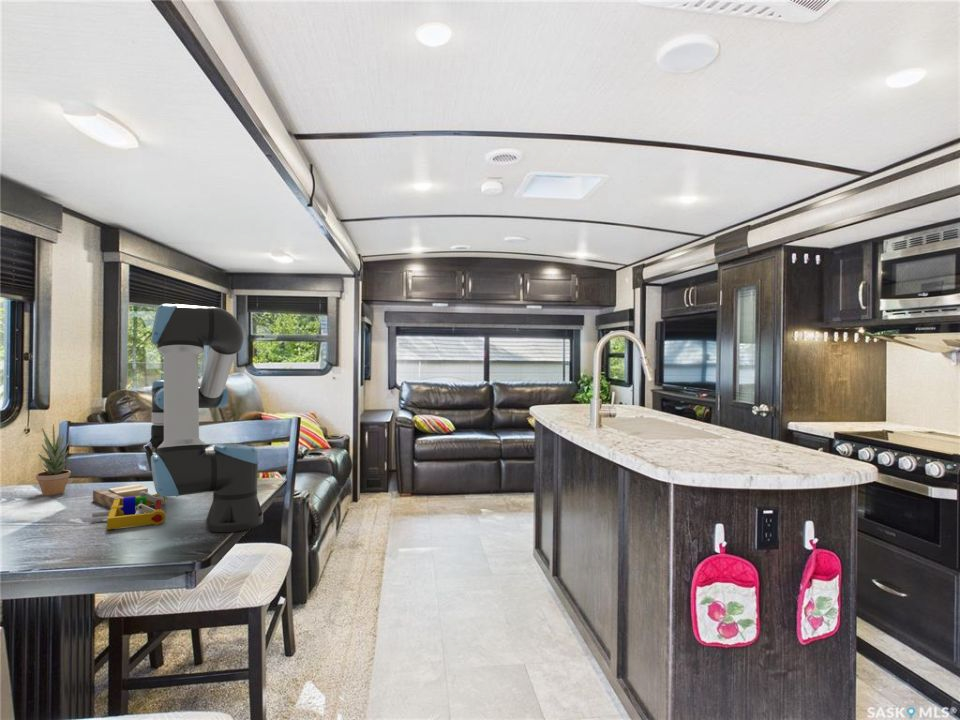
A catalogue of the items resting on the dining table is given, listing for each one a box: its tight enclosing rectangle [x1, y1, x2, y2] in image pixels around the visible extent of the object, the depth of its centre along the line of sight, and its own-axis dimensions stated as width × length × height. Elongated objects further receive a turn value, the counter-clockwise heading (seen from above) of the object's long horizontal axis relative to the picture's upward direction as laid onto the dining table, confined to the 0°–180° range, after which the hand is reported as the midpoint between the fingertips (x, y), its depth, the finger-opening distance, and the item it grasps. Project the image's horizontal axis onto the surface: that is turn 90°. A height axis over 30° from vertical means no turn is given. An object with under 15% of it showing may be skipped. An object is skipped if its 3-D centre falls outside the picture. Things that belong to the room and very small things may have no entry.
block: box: [108, 483, 149, 497], centre depth 177 cm, size 9×9×4 cm
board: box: [92, 488, 124, 509], centre depth 170 cm, size 18×2×4 cm, turn 55°
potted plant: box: [35, 423, 73, 496], centre depth 183 cm, size 10×10×25 cm
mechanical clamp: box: [91, 491, 167, 530], centre depth 158 cm, size 18×6×30 cm
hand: (162, 490), depth 184 cm, fingers closed
